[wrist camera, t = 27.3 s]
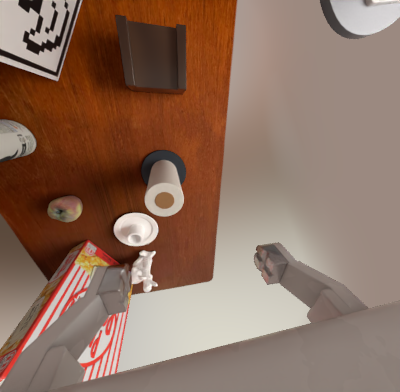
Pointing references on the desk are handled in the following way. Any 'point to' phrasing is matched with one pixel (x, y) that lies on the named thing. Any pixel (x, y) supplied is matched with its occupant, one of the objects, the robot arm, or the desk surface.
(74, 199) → the apple
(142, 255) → the koala figurine
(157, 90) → the cradle
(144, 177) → the coaster
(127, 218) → the candle holder
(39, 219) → the desk surface
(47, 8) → the block
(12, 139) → the spray can
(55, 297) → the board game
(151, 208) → the paper towel roll
